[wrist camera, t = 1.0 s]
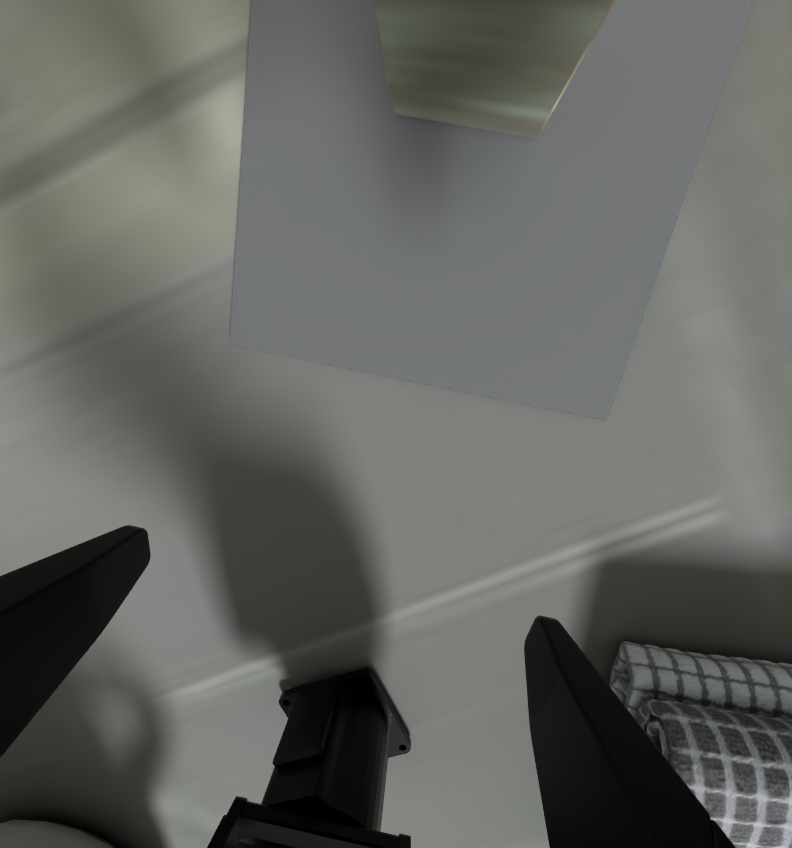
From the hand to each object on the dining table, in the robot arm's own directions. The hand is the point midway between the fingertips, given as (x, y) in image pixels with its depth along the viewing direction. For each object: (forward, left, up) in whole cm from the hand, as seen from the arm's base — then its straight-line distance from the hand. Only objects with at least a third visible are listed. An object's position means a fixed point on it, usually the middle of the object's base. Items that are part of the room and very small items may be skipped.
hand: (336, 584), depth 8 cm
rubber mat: (+11, -9, -11) cm, 18 cm away
